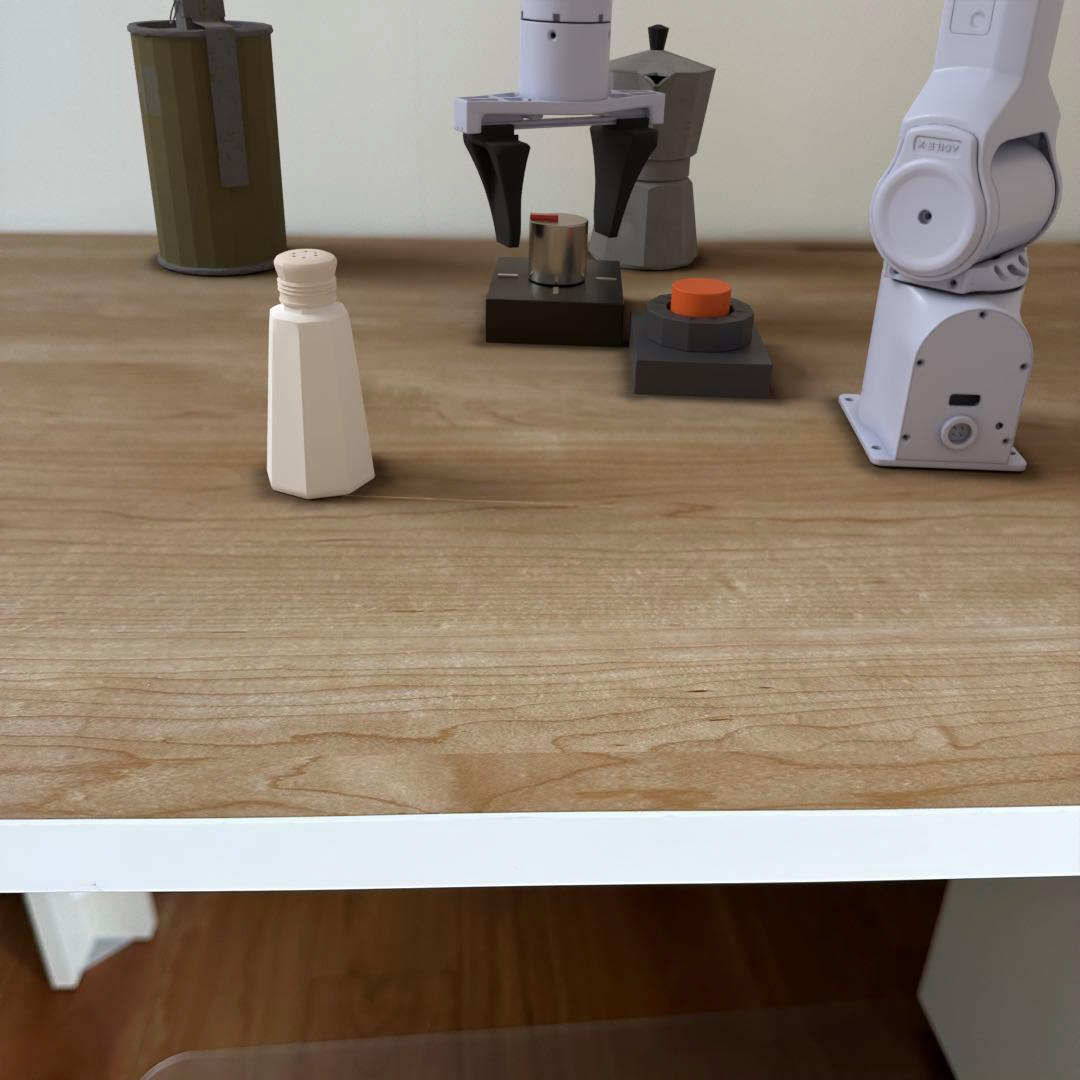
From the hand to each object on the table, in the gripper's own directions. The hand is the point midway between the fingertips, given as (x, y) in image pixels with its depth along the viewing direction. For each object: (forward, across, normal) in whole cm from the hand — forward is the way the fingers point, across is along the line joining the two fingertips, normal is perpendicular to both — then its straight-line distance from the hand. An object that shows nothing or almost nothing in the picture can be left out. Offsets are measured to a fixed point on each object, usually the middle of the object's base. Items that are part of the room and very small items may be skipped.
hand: (557, 239), depth 77 cm
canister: (+6, +17, -25) cm, 31 cm away
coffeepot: (+6, -16, -14) cm, 22 cm away
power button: (+2, -3, +12) cm, 13 cm away
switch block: (+6, -3, +12) cm, 14 cm away
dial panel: (+6, 0, 0) cm, 6 cm away
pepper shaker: (+6, +23, +18) cm, 30 cm away
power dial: (+3, 0, 0) cm, 3 cm away
